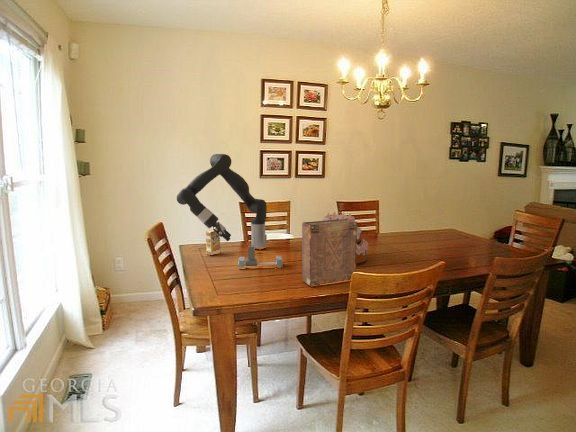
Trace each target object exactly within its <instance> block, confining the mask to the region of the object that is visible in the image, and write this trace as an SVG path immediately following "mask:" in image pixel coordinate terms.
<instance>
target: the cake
mask: <svg viewBox="0 0 576 432" xmlns="http://www.w3.org/2000/svg"><path fill="white" fill-rule="evenodd" d="M338 219H347V221H350V222H356V218H355V216H353V215H352V214H351V213H349V214H345V212H344V211H343V212H342V214H341V213H340V214H338V213H337V214H336V212H335V211H334V212H333V214H330V213H329V212H327V215H324V216H323V217H322V221H326V220H338ZM368 249H369V243H368V241H366V240H365V238H364V237H362V228H360V227H359V226H357V243H356V265H357V264H361V265H363V264H362V263H364V262H365V263H366V262H367V261H368V251H369V250H368ZM365 263H364V264H365ZM357 266H358V265H357Z"/></svg>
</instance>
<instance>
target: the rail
mask: <svg viewBox="0 0 576 432" xmlns="http://www.w3.org/2000/svg"><path fill="white" fill-rule="evenodd" d="M237 261H238V262H237V264H238V268H239V267H244V266H245V265H246V257H245V256H239V257H238V260H237ZM276 264H277V267H281V266H282V267H283V264H284V261H283V258H282V255H275V261H273V262H270V261H269V262H257V265H276Z"/></svg>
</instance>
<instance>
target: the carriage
mask: <svg viewBox="0 0 576 432" xmlns="http://www.w3.org/2000/svg"><path fill="white" fill-rule="evenodd" d="M255 251H256V250H255V247H254V246H252V245H247V252H248V254H247V257H245V263H246V266H257V263H258V257H255V255H256V254H255Z"/></svg>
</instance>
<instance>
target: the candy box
mask: <svg viewBox="0 0 576 432" xmlns="http://www.w3.org/2000/svg"><path fill="white" fill-rule="evenodd" d="M205 243H206V244H205V246H206V252H207V251H208V252H213V251H216V250H219V249H220V250H221V237H220V236H219V235H218V234H217V233H216V232H215V231H214V230H213V229H211V230H207V231H205Z"/></svg>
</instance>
